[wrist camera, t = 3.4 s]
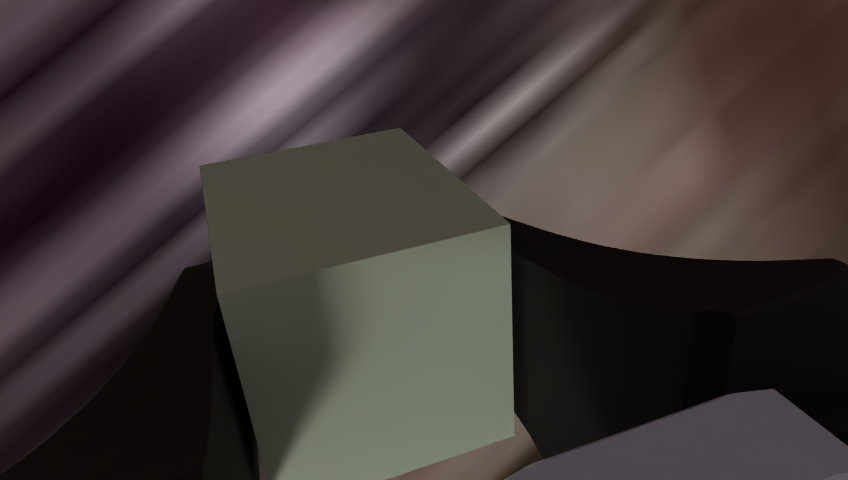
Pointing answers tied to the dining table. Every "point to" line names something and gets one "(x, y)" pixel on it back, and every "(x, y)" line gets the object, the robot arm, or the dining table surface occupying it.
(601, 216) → the dining table surface
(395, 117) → the dining table surface
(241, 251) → the sage brick
